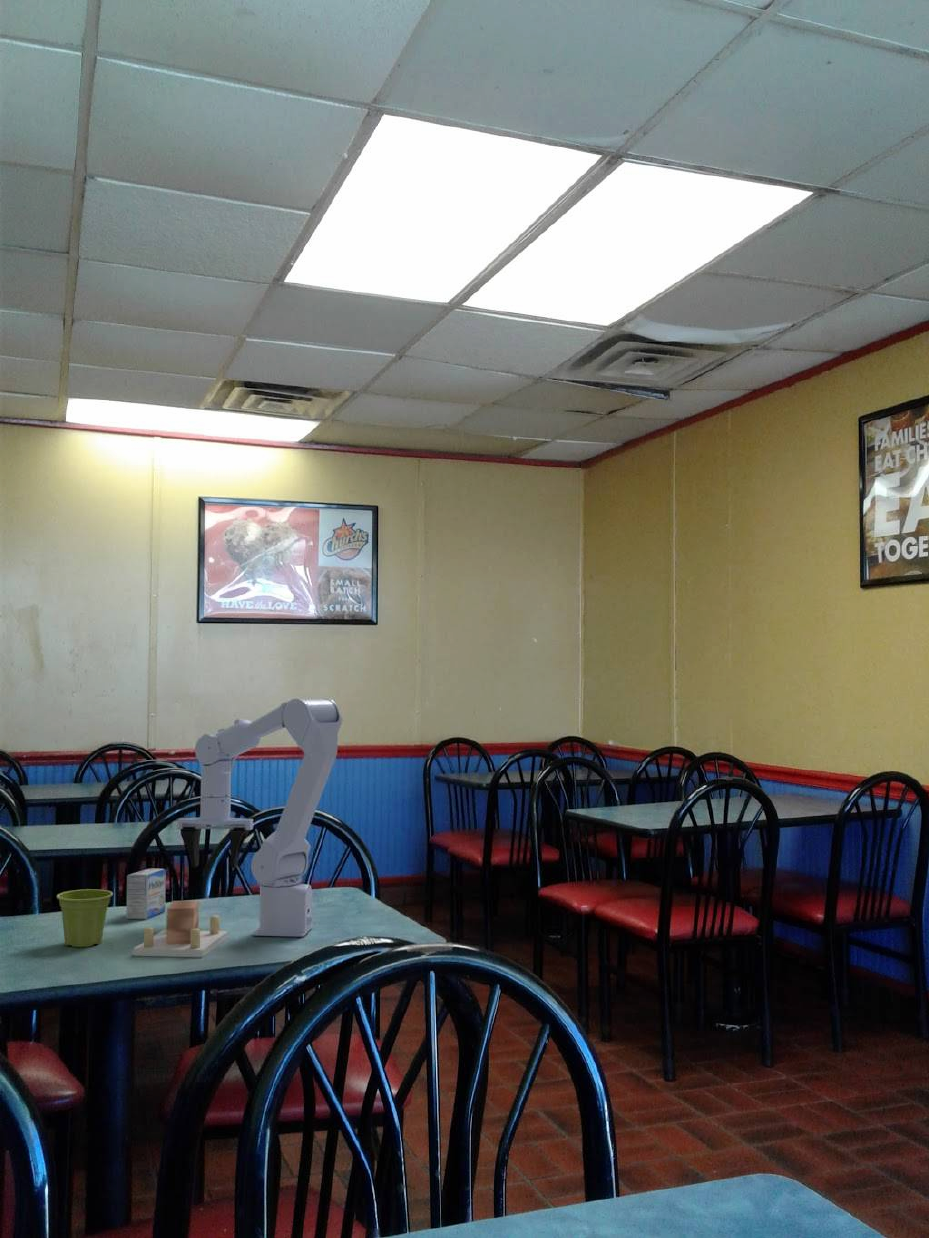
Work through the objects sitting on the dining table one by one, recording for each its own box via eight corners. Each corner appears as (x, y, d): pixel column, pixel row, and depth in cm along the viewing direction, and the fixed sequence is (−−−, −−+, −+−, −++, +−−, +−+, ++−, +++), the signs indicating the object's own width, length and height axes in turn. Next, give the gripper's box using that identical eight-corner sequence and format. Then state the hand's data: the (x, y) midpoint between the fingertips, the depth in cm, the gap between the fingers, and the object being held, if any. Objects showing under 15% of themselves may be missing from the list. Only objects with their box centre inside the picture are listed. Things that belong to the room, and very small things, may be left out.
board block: (198, 934, 191) (198, 900, 192) (193, 943, 184) (193, 908, 185) (172, 934, 191) (173, 900, 191) (166, 944, 184) (167, 908, 184)
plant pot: (111, 936, 195) (112, 887, 196) (112, 947, 186) (113, 897, 187) (56, 939, 192) (57, 890, 193) (54, 951, 183) (55, 900, 184)
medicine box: (146, 920, 209) (147, 875, 209) (125, 919, 210) (126, 874, 210) (165, 911, 216) (166, 868, 217) (145, 910, 217) (146, 867, 218)
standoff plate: (227, 938, 194) (228, 914, 194) (202, 957, 180) (203, 931, 180) (163, 936, 195) (163, 913, 195) (133, 955, 181) (134, 930, 181)
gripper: (257, 794, 213) (256, 863, 212) (186, 793, 214) (185, 862, 213) (247, 798, 206) (246, 869, 205) (174, 797, 207) (172, 868, 206)
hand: (214, 866), depth 208 cm, fingers open, 7 cm apart
